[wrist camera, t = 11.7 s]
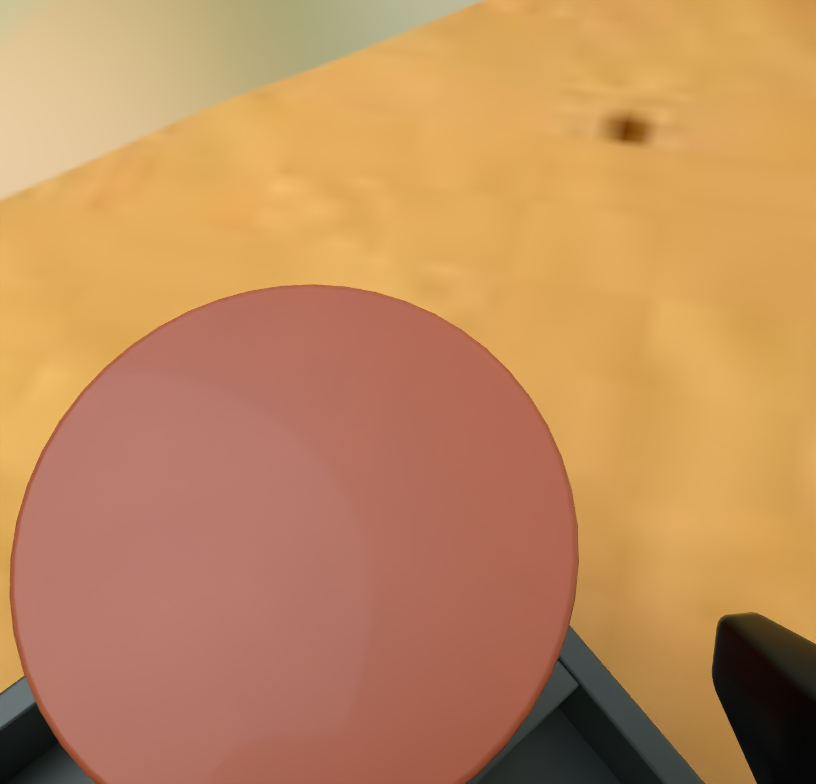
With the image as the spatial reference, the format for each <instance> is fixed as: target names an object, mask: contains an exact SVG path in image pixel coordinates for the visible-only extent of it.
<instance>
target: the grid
mask: <svg viewBox="0 0 816 784" xmlns="http://www.w3.org/2000/svg"><path fill="white" fill-rule="evenodd" d="M0 784H96V783H95V782H94V781H93V780H91V779H90V778H89V777H88V776H87V775H86V774H85V773H84V772H83V771H82V769H81V768H80V767H79V766H78V765H77V763H76V762H75V761H74V760H73V759H72V758H71V756H70V755H69V754H68V753H67V752H66V751H65V749H64V748H63V747H62V746H61V745H60V743H59V741H58V740H57V738H56V737H55V735H54V733H53V732H52V730H51V728H50V727H49V725H48V724H47V722H46V720H45V719H44V717H43V715H42V714H41V712H40V711H39V708H38V706H37V703H36V701H35V699H34V696H33V694H32V692H31V689H30V687H29V685H28V682H27V680H26V677H25V676H23V677H22V678H21V679H19V680H18V681H17V682H15V683H14V684H12V685H11V686H10V687H8V688H7V689H6V690H4V691H3V692H1V693H0ZM467 784H705V783H704V782H703V781H702V780H701V778H700V777H699V776H698V775H697V774H696V773H695V771H694V770H693V769H692V768H691V767H690V766H689V764H688V763H687V762H686V761H685V760H684V759H683V757H682V756H681V755H680V754H679V753H678V752H677V750H676V749H675V748H674V747H673V746H672V745H671V743H670V742H669V741H668V740H667V739H666V738H665V736H664V735H663V734H662V733H661V732H660V730H659V729H658V728H657V727H656V726H655V725H654V723H653V722H652V721H651V720H650V719H649V718H648V716H647V715H646V714H645V713H644V712H643V711H642V709H641V708H640V707H639V706H638V705H637V704H636V702H635V701H634V700H633V699H632V698H631V697H630V695H629V694H628V693H627V692H626V691H625V690H624V688H623V687H622V686H621V685H620V684H619V683H618V681H617V680H616V679H615V678H614V677H613V676H612V674H611V673H610V672H609V671H608V670H607V669H606V667H605V666H604V665H603V664H602V663H601V661H600V660H599V659H598V658H597V657H596V656H595V654H594V653H593V652H592V651H591V650H590V649H589V647H588V646H587V645H586V644H585V643H584V642H583V640H582V639H581V638H580V637H579V636H578V635H577V633H576V632H575V631H574V630H573V629H572V628H571V626H570V625H569V627H568V631H567V635H566V639H565V641H564V644H563V647H562V649H561V652H560V654H559V657H558V660H557V662H556V665H555V668H554V670H553V673H552V675H551V677H550V679H549V681H548V683H547V684H546V686H545V688H544V690H543V692H542V694H541V695H540V697H539V699H538V701H537V703H536V705H535V707H534V708H533V710H532V712H531V713H530V714H529V716H528V717H527V718H526V720H525V721H524V723H523V724H522V725H521V727H520V728H519V729H518V731H517V732H516V734H515V735H514V736H513V738H512V739H511V740H510V742H509V743H508V744H507V745H506V746H505V747H504V749H503V750H502V751H501V752H500V753H499V754H498V755H497V756H496V757H495V758H494V759H493V760H492V761H491V762H490V763H489V764H488V765H487V766H486V767H485V768H484V769H483V770H482V771H481V772H480V773H479V774H478V775H477V776H476V777H475V778H473V779H472V780H471V781H470V782H468V783H467Z"/></svg>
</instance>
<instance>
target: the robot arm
mask: <svg viewBox="0 0 816 784" xmlns="http://www.w3.org/2000/svg"><path fill="white" fill-rule="evenodd" d="M712 678H713V684H714V687H715V690H716V693H717V695H718V697H719V700H720V702H721V704H722V706H723V708H724V711H725V713H726V715H727V717H728V720H729V722H730V724H731V726H732V729H733V731H734V733H735V735H736V738H737V740H738V742H739V744H740V747H741V749H742V751H743V753H744V756H745V758H746V760H747V762H748V764H749V767H750V769H751V771H752V773H753V776H754V778H755V780H756V782H757V784H816V644H815V643H813V642H811V641H809V640H807V639H805V638H804V637H802V636H800V635H798V634H796V633H794V632H792V631H790V630H789V629H787V628H785V627H783V626H781V625H779V624H777V623H775V622H774V621H772V620H770V619H768V618H766V617H764V616H762V615H760V614H758V613H753V612H748V613H739V614H730V615H725V616H723V617H721V618H720V620H719V622H718V624H717V630H716V638H715V647H714V655H713V664H712Z"/></svg>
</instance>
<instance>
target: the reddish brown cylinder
mask: <svg viewBox="0 0 816 784" xmlns="http://www.w3.org/2000/svg"><path fill="white" fill-rule="evenodd" d="M578 564H579V556H578V525H577V519H576V513H575V507H574V501H573V495H572V489H571V486H570V483H569V479H568V476H567V473H566V469H565V466H564V463H563V459H562V456H561V454H560V452H559V450H558V447H557V445H556V443H555V441H554V438H553V436H552V434H551V432H550V429H549V427H548V425H547V424H546V422H545V420H544V419H543V417H542V415H541V414H540V412H539V410H538V409H537V407H536V406H535V404H534V402H533V401H532V399H531V397H530V396H529V395H528V394H527V392H526V391H525V390H524V389H523V387H522V386H521V385H520V384H519V382H518V381H517V380H516V379H515V377H514V376H513V375H512V374H511V372H510V371H509V370H508V369H507V368H506V367H505V366H504V365H503V364H502V363H501V362H500V361H499V360H498V359H497V358H496V357H494V356H493V355H492V354H491V353H490V352H489V351H488V350H487V349H486V348H485V347H484V346H482V345H481V344H480V343H478V342H477V341H476V340H474V339H473V338H472V337H470V336H469V335H468V334H466V333H465V332H464V331H463V330H461V329H459V328H458V327H456V326H454V325H453V324H451V323H449V322H448V321H446V320H444V319H442V318H441V317H439V316H437V315H436V314H434V313H431V312H429V311H427V310H424V309H422V308H420V307H418V306H415V305H413V304H411V303H408V302H406V301H403V300H400V299H396V298H393V297H390V296H387V295H383V294H380V293H377V292H372V291H366V290H361V289H355V288H350V287H343V286H328V285H293V286H279V287H272V288H266V289H259V290H253V291H248V292H245V293H241V294H237V295H233V296H230V297H226V298H222V299H219V300H216V301H214V302H211V303H209V304H206V305H203V306H201V307H198V308H196V309H193V310H191V311H188V312H186V313H184V314H182V315H181V316H179V317H177V318H175V319H173V320H171V321H169V322H167V323H165V324H163V325H161V326H159V327H158V328H156V329H155V330H153V331H152V332H150V333H149V334H148V335H146V336H145V337H143V338H142V339H140V340H139V341H137V342H136V343H134V344H133V345H131V346H130V347H129V348H128V349H126V350H125V351H124V352H123V353H122V354H120V355H119V356H118V357H117V358H116V359H114V360H113V361H112V362H111V363H110V364H109V365H107V366H106V367H105V368H104V369H103V370H102V371H101V372H100V373H99V374H98V375H97V376H96V378H95V379H94V380H93V381H92V382H91V383H90V384H89V385H88V386H87V387H86V388H85V389H84V390H83V391H82V392H81V393H80V395H79V396H78V397H77V399H76V400H75V401H74V403H73V404H72V405H71V407H70V408H69V409H68V411H67V412H66V413H65V415H64V416H63V417H62V419H61V420H60V421H59V423H58V425H57V427H56V428H55V430H54V432H53V433H52V435H51V437H50V439H49V440H48V442H47V444H46V445H45V447H44V449H43V450H42V452H41V455H40V457H39V459H38V461H37V464H36V466H35V468H34V471H33V473H32V475H31V478H30V480H29V482H28V484H27V487H26V491H25V494H24V498H23V501H22V504H21V508H20V511H19V515H18V518H17V522H16V528H15V534H14V540H13V546H12V553H11V564H10V604H11V613H12V622H13V631H14V637H15V641H16V645H17V649H18V652H19V656H20V660H21V664H22V668H23V672H24V675H25V677H26V680H27V682H28V685H29V687H30V689H31V692H32V694H33V696H34V699H35V701H36V703H37V706H38V708H39V711H40V712H41V714H42V715H43V717H44V719H45V720H46V722H47V724H48V725H49V727H50V728H51V730H52V732H53V733H54V735H55V737H56V738H57V740H58V741H59V743H60V745H61V746H62V747H63V748H64V749H65V751H66V752H67V753H68V754H69V755H70V756H71V758H72V759H73V760H74V761H75V762H76V763H77V765H78V766H79V767H80V768H81V769H82V771H83V772H84V773H85V774H86V775H87V776H88V777H89V778H90V779H91V780H93V781H94V782H95V783H96V784H467V783H468V782H470V781H471V780H472V779H473V778H475V777H476V776H477V775H478V774H479V773H480V772H481V771H482V770H483V769H484V768H485V767H486V766H487V765H488V764H489V763H490V762H491V761H492V760H493V759H494V758H495V757H496V756H497V755H498V754H499V753H500V752H501V751H502V750H503V749H504V747H505V746H506V745H507V744H508V743H509V742H510V740H511V739H512V738H513V736H514V735H515V734H516V732H517V731H518V729H519V728H520V727H521V725H522V724H523V723H524V721H525V720H526V718H527V717H528V716H529V714H530V713H531V712H532V710H533V708H534V707H535V705H536V703H537V701H538V699H539V697H540V695H541V694H542V692H543V690H544V688H545V686H546V684H547V683H548V681H549V679H550V677H551V675H552V673H553V670H554V668H555V665H556V662H557V660H558V657H559V654H560V652H561V649H562V647H563V644H564V641H565V639H566V635H567V631H568V627H569V623H570V618H571V614H572V610H573V606H574V601H575V594H576V584H577V574H578Z"/></svg>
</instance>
